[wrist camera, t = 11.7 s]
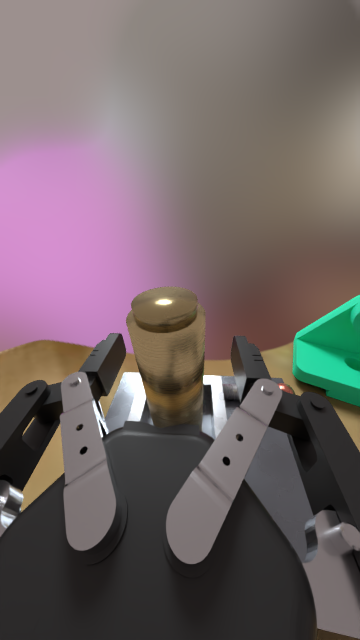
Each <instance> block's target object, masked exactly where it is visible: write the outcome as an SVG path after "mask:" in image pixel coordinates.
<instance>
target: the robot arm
mask: <svg viewBox="0 0 360 640" xmlns="http://www.w3.org/2000/svg"><path fill="white" fill-rule="evenodd" d="M125 356H126V348H125V344H124V340H123V337H122V334H118V333H110V334H109V335H108V337H107V338H106V340H102V341H101V342H100V343H99V344H97V345H96V347H95V348H94V350H93V351H92V352H91V354H90V356H89V357H88V358H87V360H86V361H85V363H84V364H83V365H82V367H81V368H80V370H79V371H78V372H75V373H73V374H70V375H69V376H67V377H66V378H65V379H64V380H63V382H61V383H56V384H52V385H47V383H46V382H45V381H43V380H37V381H33V382H31V383H29V384H27V385H26V386H24V387H23V388H22V389H21V390H20V391H19V392H18V393H17V395H16V396H15V397H14V398H13V399H12V400H11V402H10V403H9V404H8V405H7V406H6V407H5V409H4V410H3V411H2V412H1V413H0V640H317V628H318V629H322V630H326V631H330V632H334V633H338V634H342V635H346V636H350V637H354V638H358V639H360V452H359V450H358V448H357V447H356V445H355V443H354V442H353V440H352V438H351V437H350V435H349V433H348V432H347V430H346V428H345V427H344V425H343V423H342V422H341V420H340V418H339V416H338V415H337V413H336V411H335V410H334V408H333V406H332V405H331V403H330V402H329V401H328V400H327V399H325V398H324V397H323V396H321V395H319V394H317V393H314V392H304V393H303V394H302V395H301V396H298V395H295V394H291V393H288V392H285V391H283V390H281V388H280V387H279V385H277V384H276V383H275V382H273V381H272V379H271V377H270V375H269V372H268V370H267V368H266V365H265V363H264V361H263V358H262V356H261V353H260V351H259V349H258V348H257V347H256V346H255V345H254V344H248V342H247V339H246V337H245V336H234V337H233V342H232V348H231V363H232V367H233V372H234V376H235V381H236V386H237V390H238V395H239V400H240V403H242V404H241V405H240V406H237V407H236V409H235V410H234V412H233V413H232V415H231V416H230V418H229V419H228V421H227V422H226V424H225V425H224V427H223V428H222V430H221V432H220V433H219V435H218V436H217V438H216V439H215V440H214V439H213V438H212V437H211V436H209V435H208V434H206V433H204V432H201V431H199V425H191V424H178V425H173V426H168V427H164V428H159V427H156V426H153V425H151V424H148V423H145V422H140V421H125V422H124V426H123V427H120V428H118V429H115V430H113V431H111V432H109V431H108V429H107V426H106V422H105V419H104V416H103V412H102V409H101V405H100V402H99V399H100V397H101V396H108V394H109V392H110V390H111V388H112V385H113V383H114V381H115V379H116V377H117V374H118V372H119V370H120V368H121V366H122V363H123V361H124V359H125ZM33 417H34V418H35V419H34V420H33V422H32V423H31V425H30V426H29V428H28V429H27V430H26V432H25V433H24V435H23V432H24V430H25V429H26V427H27V426H28V424H29V423H30V421H31V420H32V418H33ZM59 424H61V436H62V447H63V459H64V471H65V473H63V474H62V475H61V476H60V477H59V478H58V479H57V480H56V481H55V482H54V483H53V484H52V485H50V486H49V487H48V488H47V489H46V490H45V491H44V492H43V493H42V494H41V495H40V496H39V497H37V498H36V499H35V500H34V501H33V502H32V503H31V504H30V505H29V506H28V507H27V508H26V509H24V510H23V511H22V512H21V504H22V501H23V493H22V491H23V489H24V487H25V485H26V484H27V482H28V480H29V478H30V476H31V474H32V473H33V471H34V469H35V467H36V465H37V464H38V462H39V460H40V458H41V456H42V455H43V453H44V451H45V449H46V447H47V446H48V444H49V442H50V440H51V438H52V437H53V435H54V433H55V431H56V429H57V428H58V426H59ZM268 427H271V428H273V429H276V430H279V431H281V432H284V433H286V434H287V437H288V440H289V443H290V446H291V449H292V452H293V455H294V458H295V461H296V464H297V467H298V470H299V473H300V476H301V479H302V482H303V486H304V489H305V492H306V495H307V498H308V501H309V504H310V507H311V510H312V513H313V517H311V518H310V519H309V520H308V521H307V522H306V525H305V538H306V543H307V554H306V558H305V560H304V561H303V562H301V560H300V558H299V556H298V554H297V553H296V551H295V549H294V548H293V546H292V545H291V543H290V542H289V540H288V539H287V537H286V536H285V535H284V533H283V532H282V530H281V529H280V528H279V526H278V525H277V524H276V522H275V521H274V519H273V518H272V517H271V515H270V514H269V512H268V511H267V510H266V508H265V507H264V505H263V504H262V503H261V501H260V500H259V499H258V497H257V496H256V494H255V493H254V492H253V490H252V489H251V487H250V486H249V485H248V483H247V482H246V480H245V479H244V478H245V476H246V474H247V472H248V470H249V467H250V465H251V463H252V461H253V459H254V456H255V454H256V452H257V450H258V448H259V446H260V443H261V441H262V439H263V437H264V435H265V433H266V430H267V428H268ZM22 435H23V436H22Z"/></svg>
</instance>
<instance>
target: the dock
mask: <svg viewBox="0 0 360 640" xmlns="http://www.w3.org/2000/svg"><path fill="white" fill-rule="evenodd" d="M271 379H272V381H273V382H275V383H276V384H277V385H279V387H280V388H281V390H283V391H285V392H288V393H291V394H295V393H294V390H293V389H292V388H291V387H290V386H289V385H287V384H284V382H283V380H282V378H271ZM241 404H242V403H240V400H239V395H238V390H237V386H236V381H235V377H234V376H207V375H204V385H203V420H202V432H204V433H206V434H208V435H209V436H211V437H212V438H213V439H214V440H215V439H216V438H217V436H218V435H219V433H220V432H221V430H222V428H223V427H224V425H225V424H226V422H227V421H228V419H229V418H230V416H231V415H232V413H233V412H234V410H235V409H236V407H237V406H240V405H241ZM125 421H140V422H145V423H148V424H151V425H153V421H152V418H151V414H150V410H149V406H148V403H147V399H146V395H145V391H144V387H143V384H142V380H141V376H140V373H124V374H123V377H122V379H121V382H120V384H119V386H118V389H117V391H116V394H115V396H114V398H113V401H112V403H111V405H110V408H109V410H108V413H107V415H106V417H105V422H106V426H107V429H108V431H109V432H111V431H113V430H115V429H118V428H120V427H123V426H124V422H125ZM153 426H154V425H153ZM244 479H245V480H246V482H247V483H248V485H249V486H250V487H251V489H252V490H253V492H254V493H255V494H256V496H257V497H258V499H259V500H260V501H261V503H262V504H263V505H264V507H265V508H266V510H267V511H268V512H269V514H270V515H271V517H272V518H273V519H274V521H275V522H276V524H277V525H278V526H279V528H280V529H281V530H282V532H283V533H284V535H285V536H286V537H287V539H288V540H289V542H290V543H291V545H292V546H293V548H294V549H295V551H296V553H297V554H298V556H299V558H300V560H301V562H303V561H304V560H305V558H306V554H307V543H306V538H305V525H306V522H307V521H308V520H309V519H310V518H311V517H313V513H312V510H311V507H310V504H309V501H308V498H307V495H306V492H305V489H304V486H303V482H302V479H301V476H300V473H299V470H298V467H297V464H296V461H295V458H294V455H293V452H292V449H291V446H290V443H289V440H288V437H287V434H286V433H284V432H281V431H279V430H276V429H273V428H271V427H268V428H267V430H266V433H265V435H264V437H263V439H262V441H261V443H260V446H259V448H258V450H257V452H256V454H255V456H254V459H253V461H252V463H251V465H250V467H249V470H248V472H247V474H246V476H245V478H244Z"/></svg>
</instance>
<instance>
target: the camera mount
mask: <svg viewBox="0 0 360 640" xmlns="http://www.w3.org/2000/svg"><path fill="white" fill-rule="evenodd" d="M293 375H294V376H295V377H296V378H297V379H298V380H300V381H302V382H305V383H308V384H311V385H314V386H317V387H320V388H323V389H326V396H329V397H332V398H335V399H338V400H341V401H344V402H347V403H350V404H353V405H356V406H359V407H360V295H358V296H356V297H355V298H353V299H352V300H350V301H348V302H347V303H345V304H344V305H342V306H340V307H339V308H337V309H335V310H333V311H332V312H330V313H328V314H327V315H325V316H324V317H322V318H321V319H319V320H317V321H315V322H314V323H312V324H310V325H309V326H307V327H306V328H304V329H302V330H301V331H299V332H297V334H296V336H295V339H294V347H293Z"/></svg>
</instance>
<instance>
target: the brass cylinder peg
mask: <svg viewBox="0 0 360 640" xmlns="http://www.w3.org/2000/svg"><path fill="white" fill-rule="evenodd" d="M131 307H132V310H131V311H130V313H129V314H128V316H127V319H126V323H127V327H128V331H129V334H130V338H131V342H132V346H133V350H134V353H135V357H136V361H137V365H138V369H139V372H140V376H141V380H142V384H143V387H144V391H145V395H146V399H147V403H148V406H149V410H150V414H151V418H152V421H153V425H154V426H156V427H159V428H164V427H168V426H173V425H178V424H191V425H199V431H201V432H202V420H203V385H204V350H205V346H204V345H205V310H204V308H203V307H202V306H201V305H200V304H199V303H198V302H197V296H196V295H195V294H194V293H193V292H192V291H190V290H187V289H184V288H180V287H160V288H155V289H150V290H148V291H145V292H143V293H141V294H139V295H138V296H136V297H135V298H134V299H133V301H132V303H131Z"/></svg>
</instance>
